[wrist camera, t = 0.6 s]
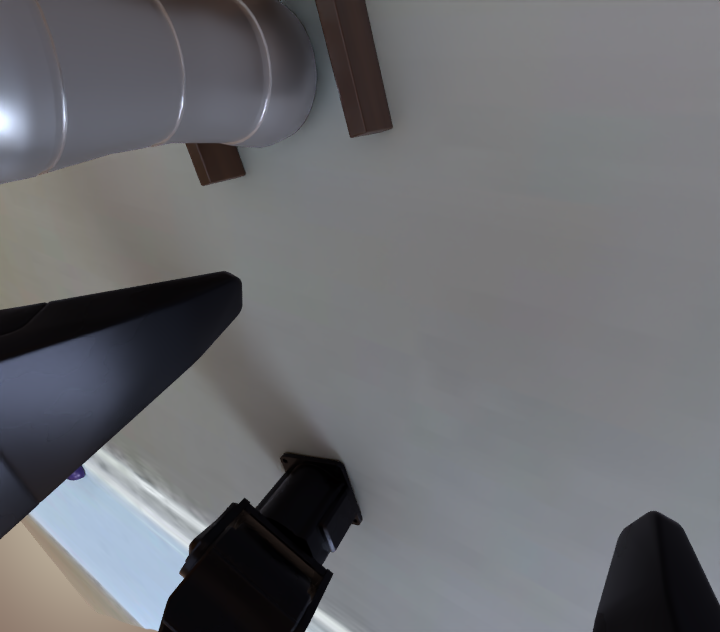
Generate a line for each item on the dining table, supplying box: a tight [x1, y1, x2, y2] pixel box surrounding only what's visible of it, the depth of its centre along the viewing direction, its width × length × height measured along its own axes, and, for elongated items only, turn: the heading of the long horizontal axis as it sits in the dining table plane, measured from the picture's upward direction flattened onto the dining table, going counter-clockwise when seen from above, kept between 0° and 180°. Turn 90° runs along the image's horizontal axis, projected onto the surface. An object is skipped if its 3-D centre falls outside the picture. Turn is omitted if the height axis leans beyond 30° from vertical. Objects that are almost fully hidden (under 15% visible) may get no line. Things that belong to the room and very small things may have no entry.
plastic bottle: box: [0, 0, 317, 184], centre depth 15 cm, size 6×7×20 cm
